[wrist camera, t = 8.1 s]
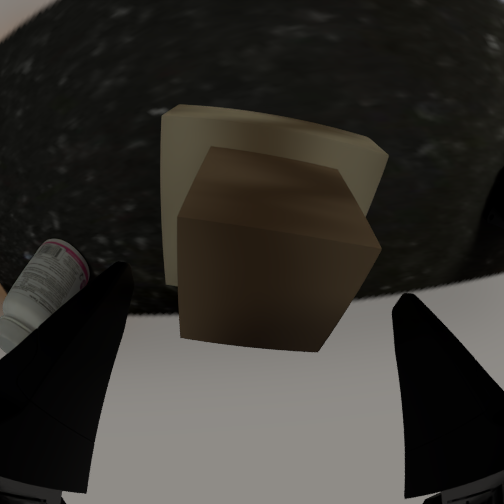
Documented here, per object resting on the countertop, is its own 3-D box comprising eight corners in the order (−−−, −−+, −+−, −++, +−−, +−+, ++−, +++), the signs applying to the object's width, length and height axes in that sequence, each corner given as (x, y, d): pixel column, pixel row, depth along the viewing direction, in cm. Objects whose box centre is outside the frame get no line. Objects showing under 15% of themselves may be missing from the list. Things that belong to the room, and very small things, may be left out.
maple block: (365, 134, 12) (389, 155, 10) (317, 267, 18) (325, 303, 15) (181, 103, 11) (161, 115, 9) (177, 249, 17) (166, 284, 15)
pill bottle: (79, 292, 20) (40, 379, 13) (36, 257, 17) (-13, 340, 11) (101, 266, 18) (53, 369, 11) (52, 225, 15) (-14, 319, 9)
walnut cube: (337, 169, 10) (382, 249, 6) (304, 262, 13) (317, 352, 10) (210, 146, 10) (176, 216, 6) (201, 247, 13) (180, 337, 9)
